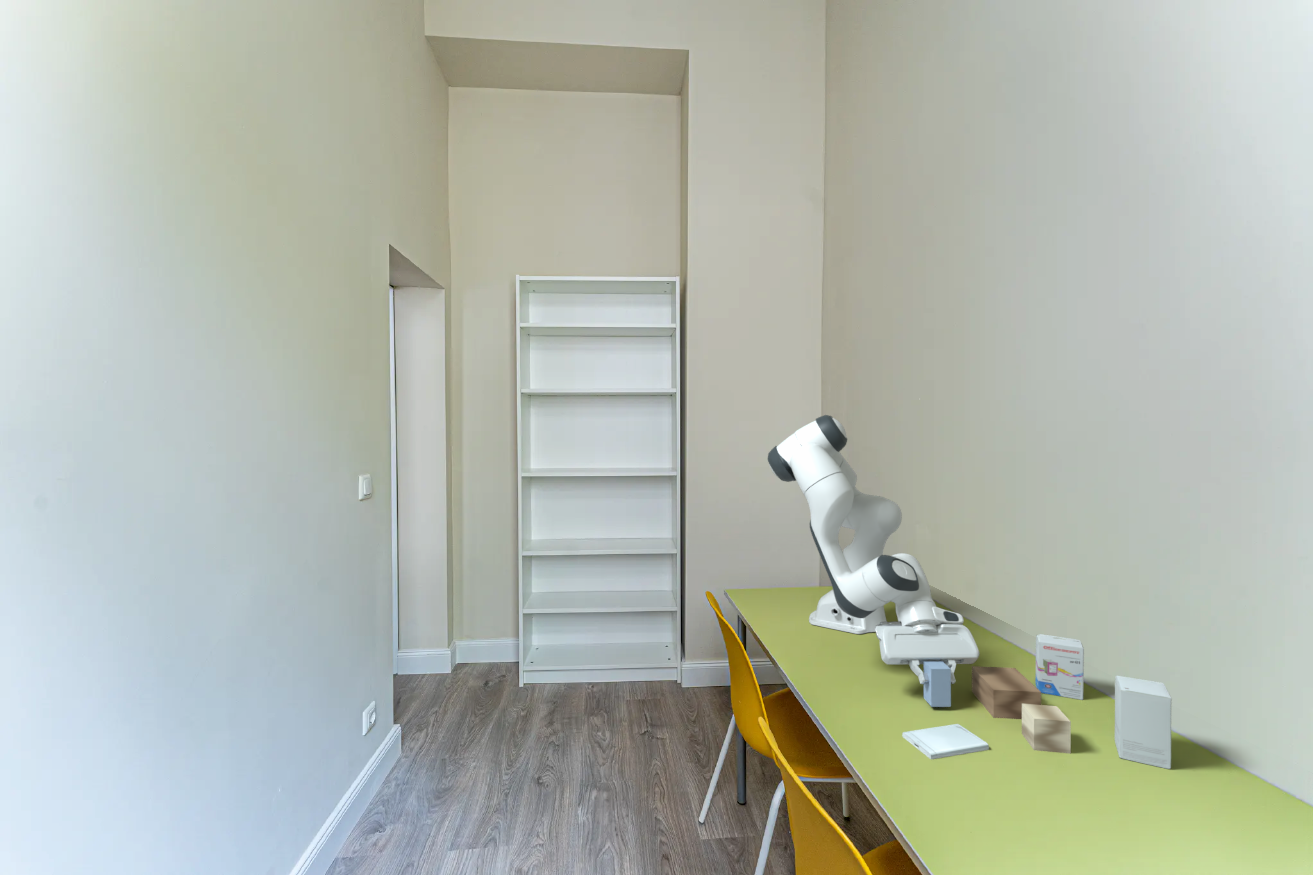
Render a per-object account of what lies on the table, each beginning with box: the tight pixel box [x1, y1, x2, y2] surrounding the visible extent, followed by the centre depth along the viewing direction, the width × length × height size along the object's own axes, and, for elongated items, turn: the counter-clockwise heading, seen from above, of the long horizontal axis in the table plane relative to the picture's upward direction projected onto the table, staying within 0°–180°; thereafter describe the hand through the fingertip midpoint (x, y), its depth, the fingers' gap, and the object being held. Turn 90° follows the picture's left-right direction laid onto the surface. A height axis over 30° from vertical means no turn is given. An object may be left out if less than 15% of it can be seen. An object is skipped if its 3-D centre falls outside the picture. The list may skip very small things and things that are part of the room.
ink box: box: [1035, 633, 1085, 701], centre depth 134 cm, size 9×5×12 cm, turn 62°
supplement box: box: [1114, 675, 1173, 770], centre depth 109 cm, size 7×7×13 cm
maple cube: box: [1021, 704, 1072, 754], centre depth 114 cm, size 6×6×6 cm
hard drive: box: [901, 723, 990, 760], centre depth 114 cm, size 2×8×12 cm
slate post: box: [922, 661, 952, 708], centre depth 129 cm, size 4×4×8 cm
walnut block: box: [971, 665, 1042, 720], centre depth 129 cm, size 9×12×6 cm
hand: (938, 682), depth 128 cm, fingers closed on slate post, 4 cm apart
